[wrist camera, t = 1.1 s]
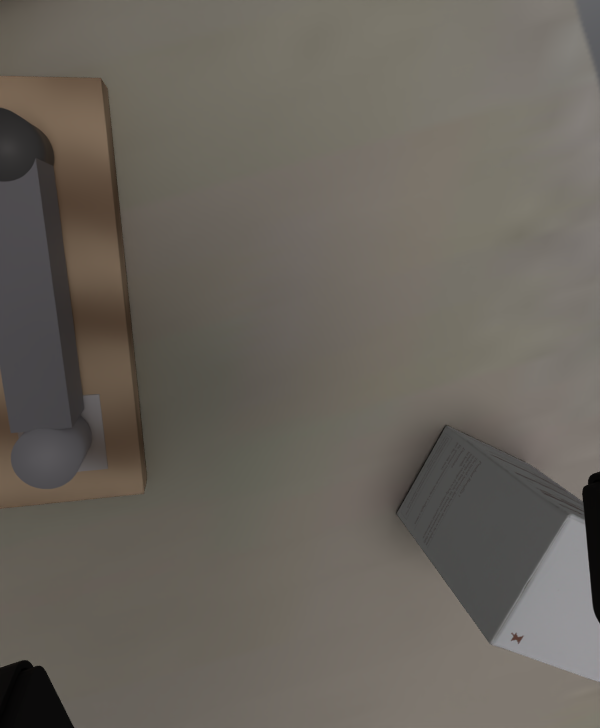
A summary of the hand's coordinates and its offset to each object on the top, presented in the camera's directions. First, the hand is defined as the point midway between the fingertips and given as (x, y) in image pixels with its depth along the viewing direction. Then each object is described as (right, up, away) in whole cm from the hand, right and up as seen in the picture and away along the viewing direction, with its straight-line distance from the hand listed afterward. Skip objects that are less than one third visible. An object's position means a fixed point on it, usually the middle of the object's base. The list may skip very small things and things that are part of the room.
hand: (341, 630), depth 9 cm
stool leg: (-14, +7, +19) cm, 24 cm away
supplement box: (+11, -4, +29) cm, 31 cm away
